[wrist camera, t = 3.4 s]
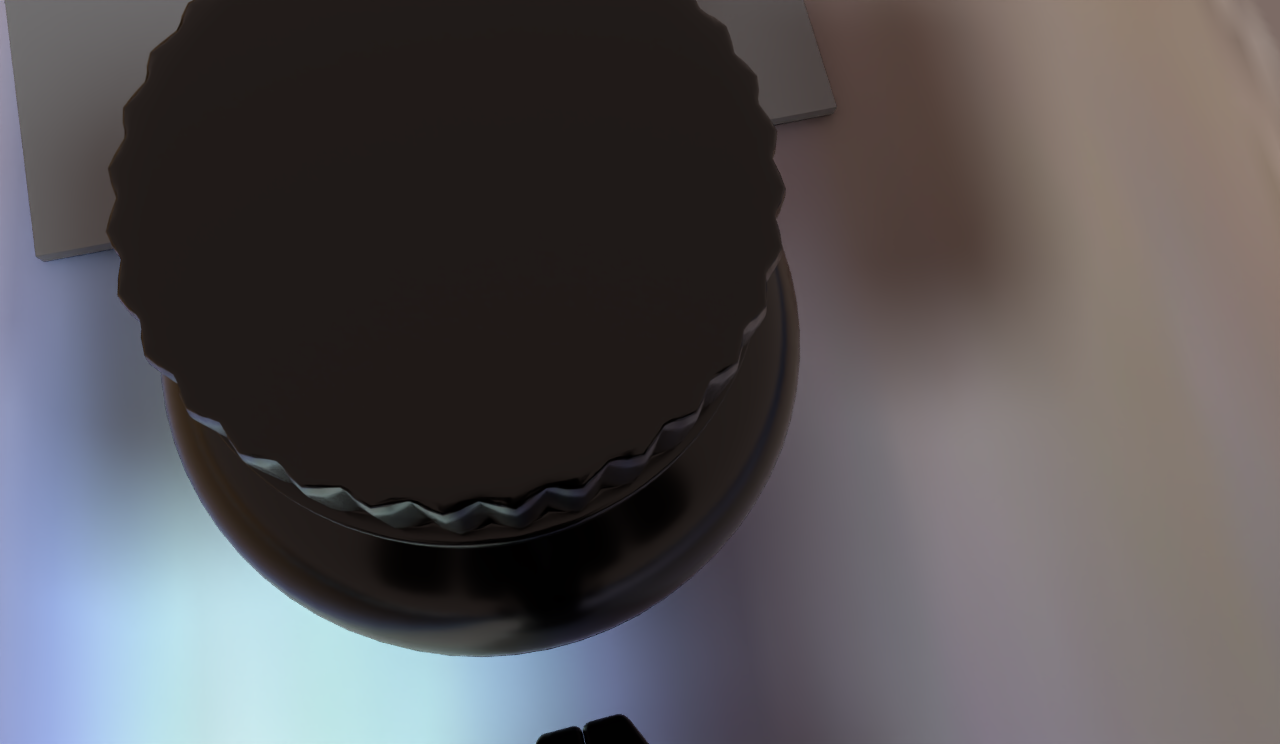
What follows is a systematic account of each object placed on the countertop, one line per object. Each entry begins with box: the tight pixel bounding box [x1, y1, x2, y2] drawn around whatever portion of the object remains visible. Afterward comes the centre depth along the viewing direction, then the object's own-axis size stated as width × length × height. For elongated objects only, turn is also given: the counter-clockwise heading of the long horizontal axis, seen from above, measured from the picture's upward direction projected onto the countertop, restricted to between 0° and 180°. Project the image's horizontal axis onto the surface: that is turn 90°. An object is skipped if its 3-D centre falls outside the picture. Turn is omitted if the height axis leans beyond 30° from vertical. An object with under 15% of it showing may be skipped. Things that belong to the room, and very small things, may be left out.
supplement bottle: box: [106, 0, 800, 657], centre depth 12 cm, size 7×7×12 cm
